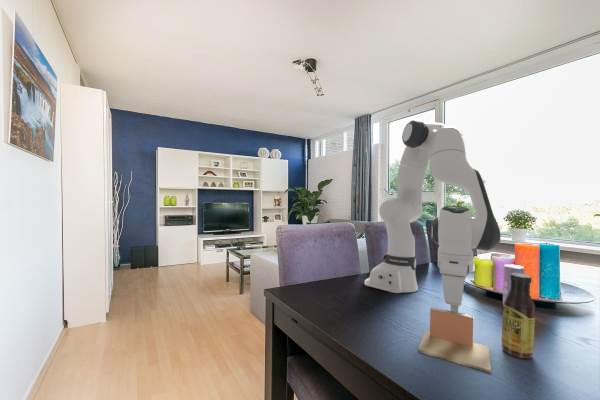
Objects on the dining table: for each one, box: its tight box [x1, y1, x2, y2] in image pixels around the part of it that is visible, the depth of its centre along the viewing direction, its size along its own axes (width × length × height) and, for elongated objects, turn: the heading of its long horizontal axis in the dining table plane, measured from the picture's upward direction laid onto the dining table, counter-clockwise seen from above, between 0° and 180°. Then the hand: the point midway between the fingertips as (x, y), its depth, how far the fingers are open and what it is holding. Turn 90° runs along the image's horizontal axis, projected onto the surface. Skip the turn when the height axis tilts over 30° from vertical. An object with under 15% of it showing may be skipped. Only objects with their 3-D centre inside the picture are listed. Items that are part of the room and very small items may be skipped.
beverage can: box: [502, 263, 526, 306], centre depth 98 cm, size 6×6×15 cm
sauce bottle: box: [501, 273, 536, 360], centre depth 68 cm, size 6×6×20 cm
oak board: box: [417, 330, 492, 374], centre depth 69 cm, size 15×12×1 cm
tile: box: [429, 306, 474, 347], centre depth 73 cm, size 10×2×8 cm, turn 57°
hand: (454, 311), depth 78 cm, fingers closed
